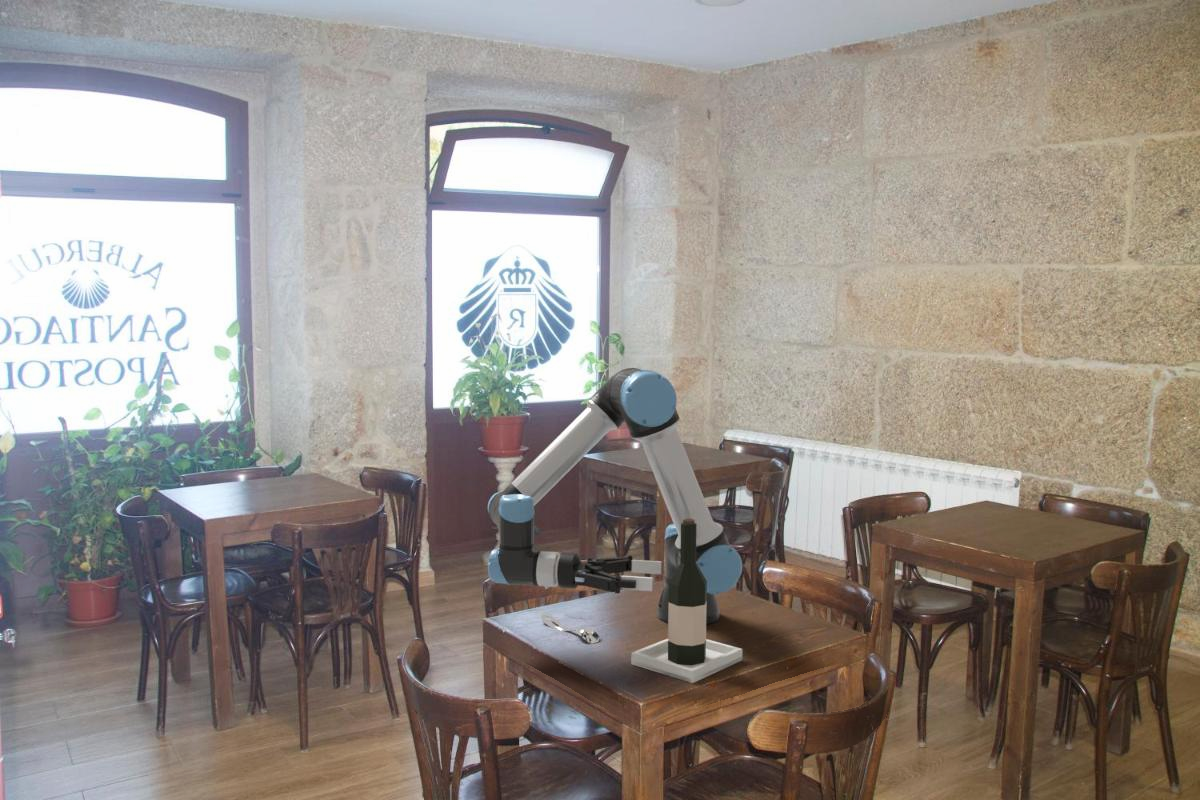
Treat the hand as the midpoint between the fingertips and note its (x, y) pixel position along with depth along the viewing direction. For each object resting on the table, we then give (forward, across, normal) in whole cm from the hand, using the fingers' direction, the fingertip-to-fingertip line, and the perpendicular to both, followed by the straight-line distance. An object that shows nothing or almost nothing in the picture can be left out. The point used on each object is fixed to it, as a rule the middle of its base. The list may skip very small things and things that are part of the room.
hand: (657, 575), depth 216 cm
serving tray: (+7, 0, -18) cm, 20 cm away
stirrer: (-23, -15, -19) cm, 33 cm away
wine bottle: (+7, 0, -18) cm, 19 cm away
